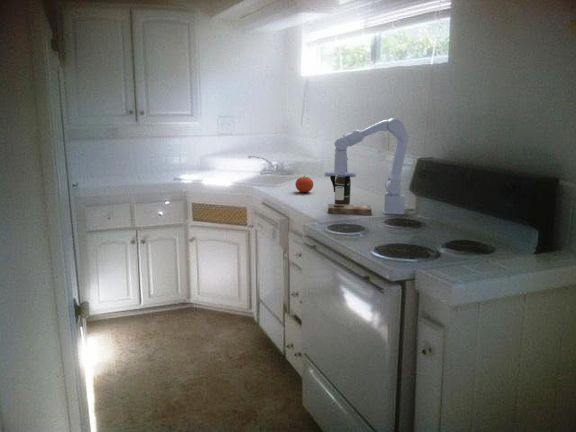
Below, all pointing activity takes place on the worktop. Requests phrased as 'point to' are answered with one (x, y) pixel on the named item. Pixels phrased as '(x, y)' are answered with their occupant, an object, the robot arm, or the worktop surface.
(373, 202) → the worktop surface
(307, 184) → the tomato
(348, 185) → the beer bottle
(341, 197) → the plug
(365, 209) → the brown wooden flat block
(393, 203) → the robot arm
